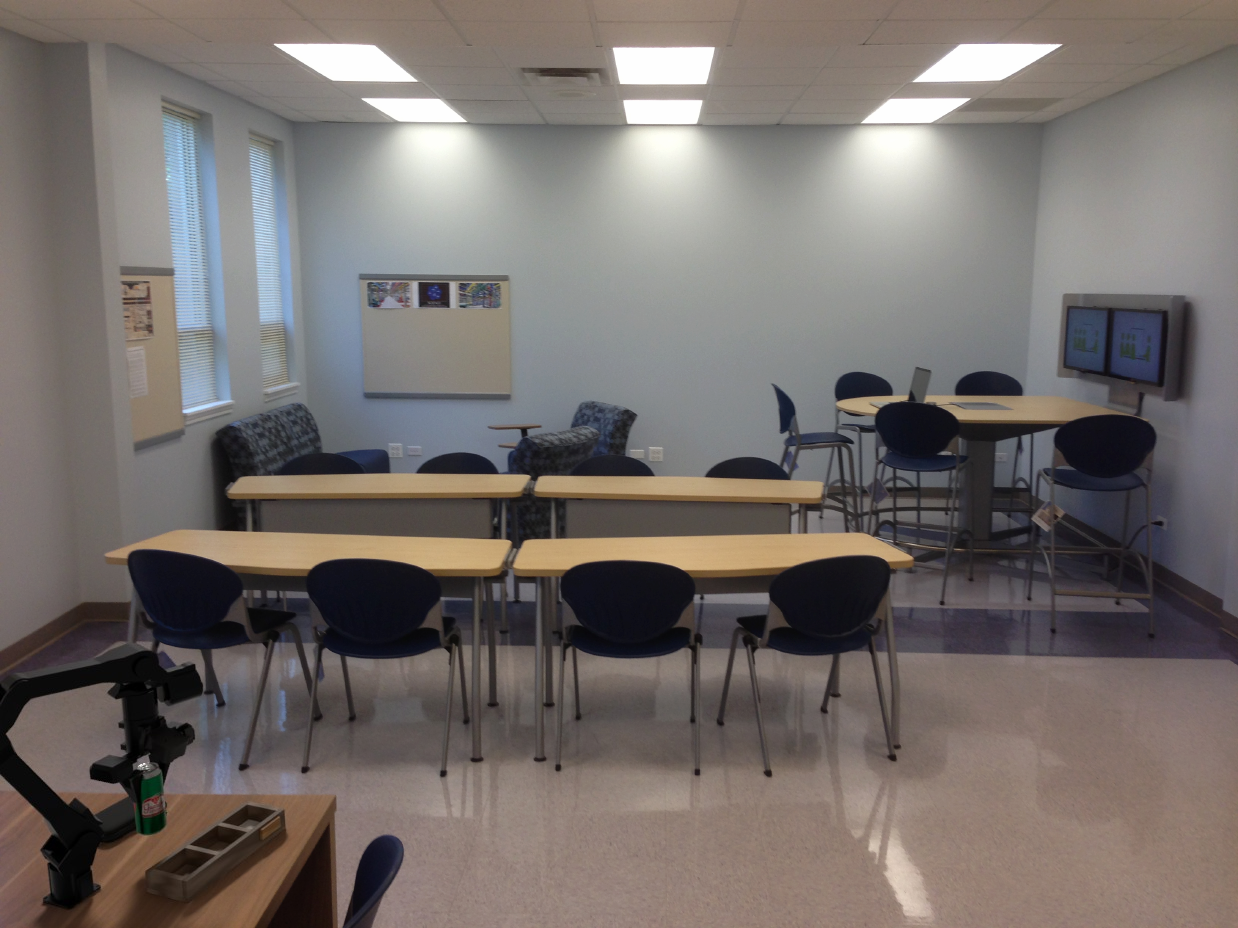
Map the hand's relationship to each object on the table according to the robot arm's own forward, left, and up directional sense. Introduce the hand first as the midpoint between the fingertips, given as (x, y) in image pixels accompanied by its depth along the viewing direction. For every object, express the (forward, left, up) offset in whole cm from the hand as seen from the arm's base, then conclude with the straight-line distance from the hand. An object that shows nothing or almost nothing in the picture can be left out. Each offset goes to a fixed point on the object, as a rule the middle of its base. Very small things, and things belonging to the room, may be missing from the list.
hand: (148, 795), depth 174 cm
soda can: (0, 0, -7) cm, 7 cm away
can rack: (+11, +4, -13) cm, 17 cm away
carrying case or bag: (-16, +8, -13) cm, 23 cm away
